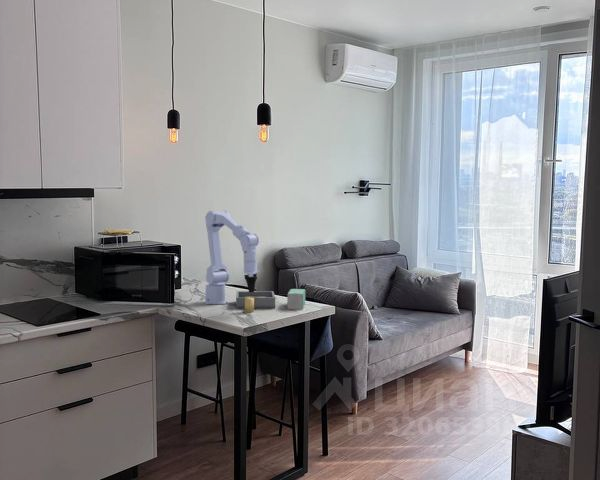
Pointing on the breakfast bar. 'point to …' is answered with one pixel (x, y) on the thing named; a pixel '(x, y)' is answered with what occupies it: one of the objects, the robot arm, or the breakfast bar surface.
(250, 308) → the peg
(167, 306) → the breakfast bar surface
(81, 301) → the breakfast bar surface
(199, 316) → the breakfast bar surface
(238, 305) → the crate
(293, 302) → the box
